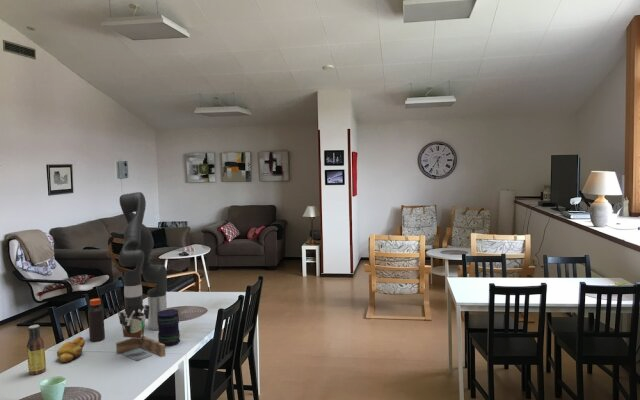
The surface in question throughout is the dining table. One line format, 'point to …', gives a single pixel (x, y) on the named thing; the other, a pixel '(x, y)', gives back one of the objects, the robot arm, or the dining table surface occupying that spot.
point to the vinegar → (96, 321)
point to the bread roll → (71, 349)
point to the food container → (135, 327)
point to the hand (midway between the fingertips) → (135, 331)
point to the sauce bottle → (35, 351)
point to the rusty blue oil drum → (168, 327)
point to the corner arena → (132, 351)
